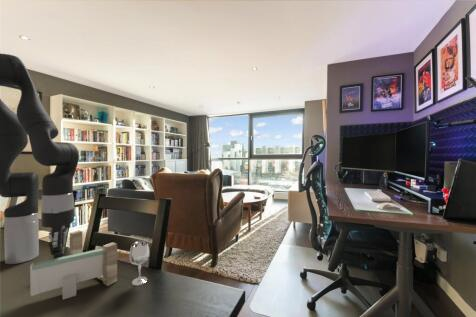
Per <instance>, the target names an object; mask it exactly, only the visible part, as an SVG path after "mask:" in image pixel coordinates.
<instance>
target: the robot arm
mask: <svg viewBox="0 0 476 317" xmlns="http://www.w3.org/2000/svg"><path fill="white" fill-rule="evenodd" d="M0 86H2V87H3V86H4V87H6V86H9V87H10V86H11V87H14V86H16V87H18V88H19V90H20V99H19V101H18V105H17V107H16V113H15V112H14V111H13V110H12V109H10V107H8V106H7V105H6V103H5V102H4V101H2V99H1V98H0V196H1V197H2V198H20V197H26V198H25V200H24V201H21V202H19V203H16V204H13V205H11V206H8V207H6V208H4V211H3V222H4V224H3V226H4V227H3V230H4V233H3V234H4V236H3V237H4V264H6V265H15V264H21V263H26V262H28V261H31V260H33V259H36V258H37V257H39V255H40V254H39V253H40V250H39V249H40V248H39V244H40V242H39V240H40V239H39V236H40V232H39V227H40V226H39V191H40V190H39V189H40V177H39V174H38V173H37V172H32V171H31V172H30V171H29V172H27V171H26V172H12V171H11V166H12V165H13V163H14V161H15V160H16V159H17V158H18V157H19V156H20V155H21V154H22V152H23V151H24V150H25V149H26V148H27V145H28V143H29V144H30V149H31V153H32V156H33V159H34V160H35V161H36V162H37V163H39V164H40V165H42V166H44V167H53V166H55V168H54V171H53V172H50V173H47V174H46V175H44V176H43V178H42V180H41V181H42V182H41V186H42V188H41V189H42V190H41V192H42V195H41V196H42V197H41V202H40V203H41V207H40V208H41V210H40V212H41V213H40V214H41V217H40V218H41V220H40V221H41V226H42V227H43V228H47V229H48V228H50V229H51V230H50V232H48V239H49V243H48V247H49V251H50V255H51V256H53V259H55V258H60V257H64V256H65V250H66V245H67V244H66V243H67V241H68V240H67V239H68V238H67V237H68V236H67V234H68V231H69V230H68V229H69V228H68V227H66V226H68V225H70V224H72V223H73V222H74V221H75V198H74V193H73V192H74V184H73V179H74V177H75V173H76V171H77V167H78V164H79V160H80V153H79V150H78V148H77V146H76V145H75V144H73V143H70V142H61V141H53V139H55V138H57V136H58V135H59V129H58V127H57V126H56V124H55V122H54V121H53V119H52V118H51V116H50V115H49V113H48V111H47V110H46V109H45V107H44V104H43V103H42V100H41V98H40V96H39V94H38V93H39V92H38V91H37V89H36V86H35V84H34V81H33V80H32V77H31V75H30V72H29V71H28V69H27V67H26V65H25V63H24V62H23V60H22V59H20V58H19V57H18V56H15V55H13V54H7V53H1V52H0Z"/></svg>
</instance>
